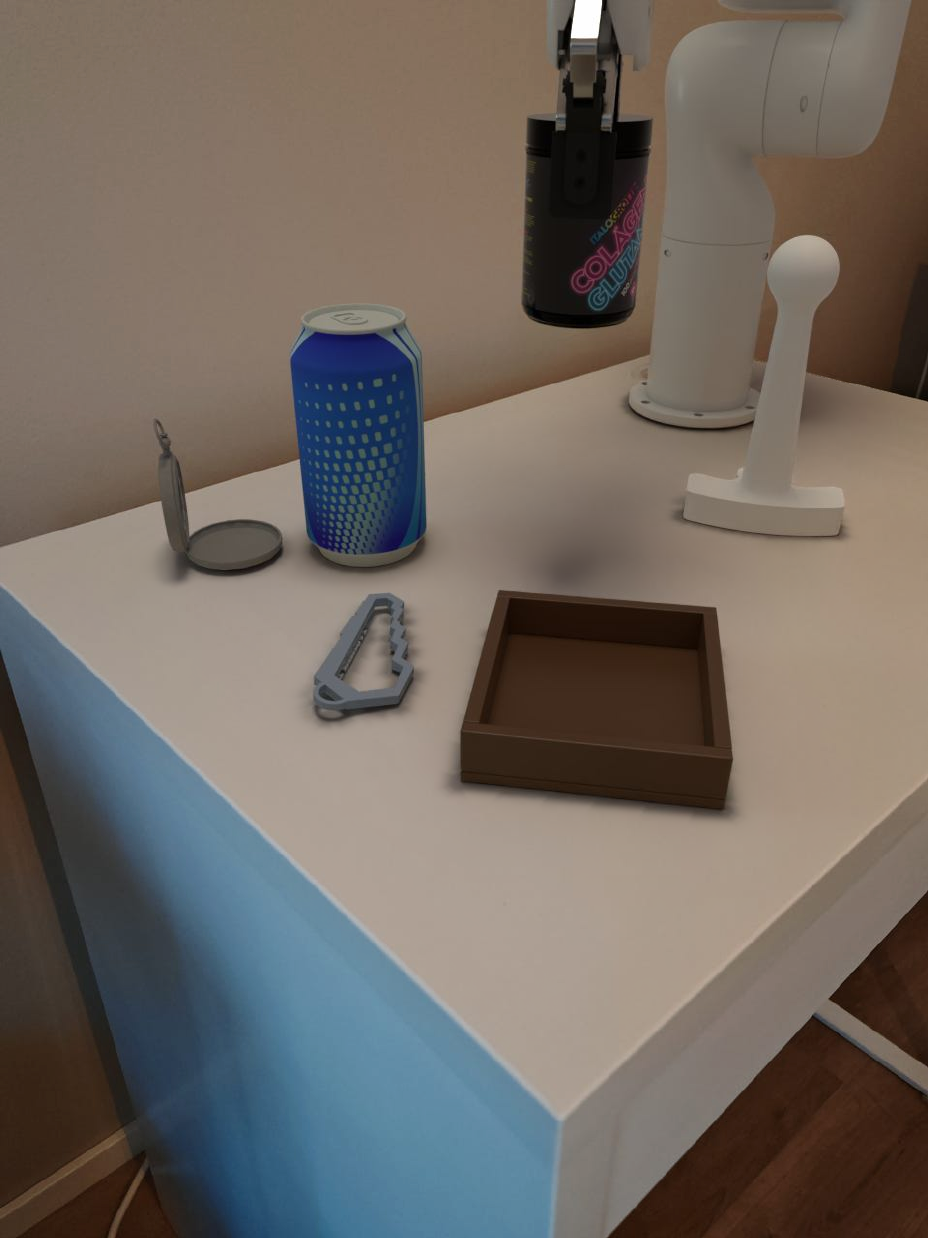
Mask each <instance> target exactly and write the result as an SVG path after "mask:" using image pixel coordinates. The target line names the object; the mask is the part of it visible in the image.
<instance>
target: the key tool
mask: <svg viewBox="0 0 928 1238" xmlns="http://www.w3.org/2000/svg"><path fill="white" fill-rule="evenodd" d="M377 607H379V608H380V607H387V608H389V609H390V616H391V617H390V625H389V636H390V637H391V638H390V641H389V650H391V651H392V652H394V654H393V656H392V657H391V669H392V670H394V672H396V673H397V672H398V673H399V676H398V679H397V681H396V683H395V686H393V687H386V688H378V689H377V688H376V689H370V690H362V691H358V689H356V688H354V687H352V686H351V685H350V684H348V683H347V682H345V681H344V680H342V679H343V677H344V673H343V672H342V671H344V672H347V670H348V668H349V665H350V664H351V661H353V658H354V657H355V654H356V653H357V650H358V649H359V647H360V645H361V641H362V640H363V639H364V636H366V634H367V630H368V629H365V627H366V626H367V624H368V622H369V621H370V618H371V616H372V614H373V612H374V611H375V608H377ZM404 610H405V601H404V600H403V599H401V598H399V597H398V596H396V595H394V594H393V593H391V592H379V593H378V592H377V593H369V594H368V595H367V596H366V598H365V599H364V600H363V601H362V602H361V604H360V605H359V606H358V607H357V609H356V610H355V612H354V615H351V616H350V618H349V619H348V620H347V622H346V624H345V625H344V626H343V628H342V629H341V631H340V635H339V636H340V637H339V639H338V640H337V643H336V644H335V646H334V647H332V648H331V650H330V651H329V653H328V655H326V657H325V659H324V660H323V662H322V663H321V665H320V666H319V667H318V669H317V671H316V672H315V674H314V675H313V685H315V686H314V688H313V690H312V699H313V702H314V704H315V705H316V706H317V707H318V708H320V709H323V710H326V711H331V712H332V711H341V710H344V709H346V710H352V709H353V710H354V709H363V708H370V707H381V706H390V705H399V704H400V701H401V699H402V698H403V695H404V694H405V692H406V690H407V688H408V686H409V684H410V681H411V680H412V678H413V676H414V675H415V674H414V673H415V666H414V665H412V663H410V662H409V661H407V660H406V659H405V658H406V655H407V653H408V652H409V641H407V640H405V638H406V631H407V628H406V627H405V626H404V625H402V624H401V622H402V620H403V618H404ZM341 672H342V673H341ZM323 692H324V693H325V694H326V695H327V696H329V697H330V698H331V699H333V700H328V699H326V698H323V697H322V696H321V694H322V693H323Z"/></svg>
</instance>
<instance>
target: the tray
mask: <svg viewBox="0 0 928 1238" xmlns="http://www.w3.org/2000/svg"><path fill="white" fill-rule="evenodd" d="M717 610H718V609H717V607H716V606H703V605H691V604H678V603H666V602H653V601H644V600H643V601H641V600H630V599H629V600H628V599H618V598H617V599H616V598H606V597H605V598H604V597H591V596H580V595H567V594H555V593H544V592H543V593H542V592H529V591H520V590H519V591H518V590H504V589H499V590H498V591H497V594H496V598H495V602H494V605H493V609H492V613H491V616H490V619H489V623H488V627H487V631H486V634H485V639H484V643H483V646H482V650H481V653H480V656H479V661H478V664H477V668H476V672H475V676H474V679H473V683H472V685H471V690H470V694H469V698H468V701H467V704H466V709H465V712H464V715H463V719H462V724H461V727H460V732H459V736H460V737H459V743H460V744H459V746H460V747H459V748H460V749H459V750H460V752H459V753H460V755H459V756H460V762H459V763H460V772H459V773H460V774H459V775H460V776H459V777H460V781H462V782H470V783H477V784H478V783H479V784H487V785H497V786H506V787H515V788H523V789H533V790H543V791H553V792H561V793H569V794H570V793H572V794H578V795H590V796H598V797H607V798H617V799H624V800H634V801H644V802H652V803H661V804H671V805H681V806H689V807H699V808H709V809H717V810H724V809H725V805H726V798H727V795H728V794H727V793H728V789H729V783H730V778H731V773H732V768H733V763H734V756H733V745H732V736H731V729H730V728H731V726H730V717H729V709H728V708H729V707H728V699H727V690H726V682H725V672H724V663H723V654H722V653H723V652H722V644H721V635H720V626H719V616H718V611H717Z"/></svg>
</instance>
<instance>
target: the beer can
mask: <svg viewBox="0 0 928 1238" xmlns="http://www.w3.org/2000/svg"><path fill="white" fill-rule="evenodd" d="M406 322H407V314H406V312H405V311H403V310H402V309H400V308H398V307H395V306H392V305H391V306H390V305H385V304H377V303H362V302H361V303H360V302H359V303H358V302H357V303H355V302H354V303H340V304H339V303H338V304H331V305H326V306H321V307H317V308H313V309H310V310H308V311H306V312H305V313H303V315H301V317H300V324H301V328H300V331H299V333H298V335H297V337H296V339H295V341H294V343H293V345H292V347H291V349H290V351H289V365H290V366H289V367H290V377H291V378H290V379H291V387H292V389H291V390H292V397H293V407H294V408H293V409H294V418H295V428H296V429H295V430H296V437H297V448H298V457H299V466H300V468H299V469H300V477H301V488H302V497H303V498H302V499H303V510H304V517H305V519H304V520H305V528H306V529H305V530H306V535H307V537H308V539H309V541H310V542H311V543H312V544H313V545H315V546H316V547H317V548H318V550H319V553H321V555H322V556H323V557H325V558H326V559H327V560H329V561H331V562H333V563H336V564H338V565H343V566H347V567H353V568H372V567H379V566H380V567H381V566H385V565H389V564H394V563H396V562H398V561H401V560H403V559H405V558H406V557H408V556H409V555H411V554H412V552H413V551H414V550H415V548H416V547H417V544H418V542H419V541H420V540H421V539H422V538H423V536H424V535H425V533H426V531H427V493H426V492H427V491H426V489H427V488H426V457H425V455H426V454H425V419H424V417H425V416H424V384H423V383H424V382H423V379H424V378H423V377H424V376H423V351H422V348H421V346H420V344H419V342H418V340H417V339H416V337H415V336H414V335H413V333H412V331H411V330H410V328H409V326H408V325H407V323H406Z"/></svg>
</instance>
